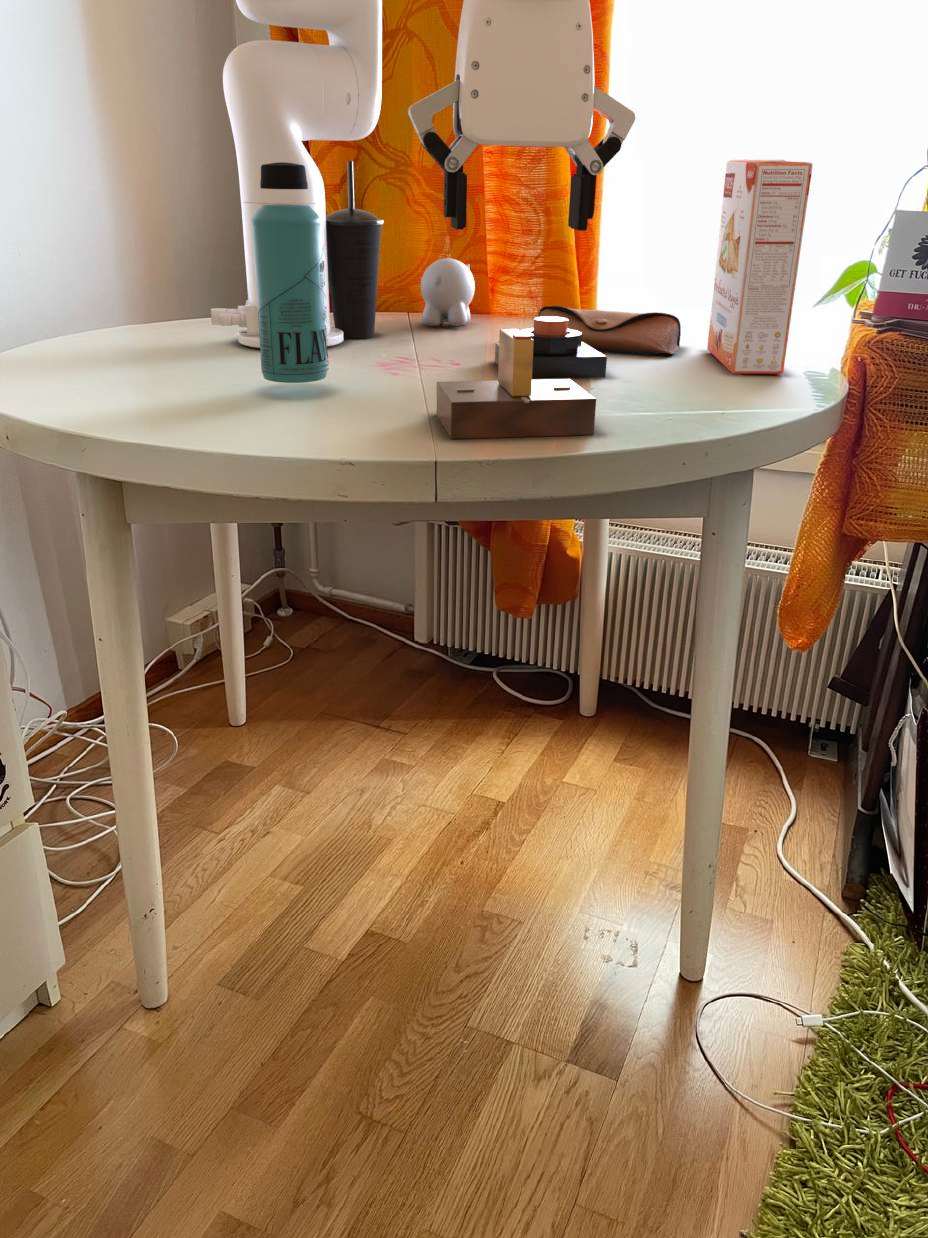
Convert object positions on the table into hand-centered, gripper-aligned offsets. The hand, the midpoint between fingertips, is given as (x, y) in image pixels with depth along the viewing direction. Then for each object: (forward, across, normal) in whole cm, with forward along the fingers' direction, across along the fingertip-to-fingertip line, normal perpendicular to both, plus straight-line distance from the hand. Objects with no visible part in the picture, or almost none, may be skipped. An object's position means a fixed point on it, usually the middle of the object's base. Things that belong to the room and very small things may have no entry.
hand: (518, 228), depth 78 cm
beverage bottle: (+16, +18, -15) cm, 28 cm away
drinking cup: (+16, +10, -47) cm, 50 cm away
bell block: (+16, -9, -23) cm, 29 cm away
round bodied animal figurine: (+16, -4, -57) cm, 59 cm away
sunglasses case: (+16, -19, -36) cm, 44 cm away
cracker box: (+16, -32, -25) cm, 44 cm away
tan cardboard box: (+13, 0, 0) cm, 13 cm away
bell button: (+12, -9, -23) cm, 27 cm away
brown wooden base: (+16, 0, 0) cm, 16 cm away
